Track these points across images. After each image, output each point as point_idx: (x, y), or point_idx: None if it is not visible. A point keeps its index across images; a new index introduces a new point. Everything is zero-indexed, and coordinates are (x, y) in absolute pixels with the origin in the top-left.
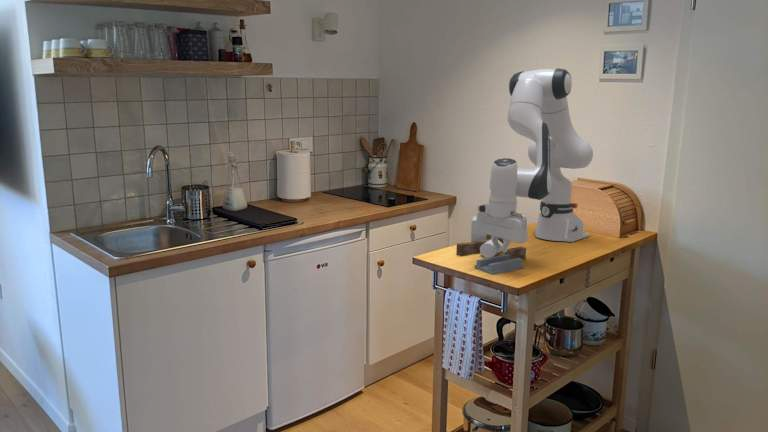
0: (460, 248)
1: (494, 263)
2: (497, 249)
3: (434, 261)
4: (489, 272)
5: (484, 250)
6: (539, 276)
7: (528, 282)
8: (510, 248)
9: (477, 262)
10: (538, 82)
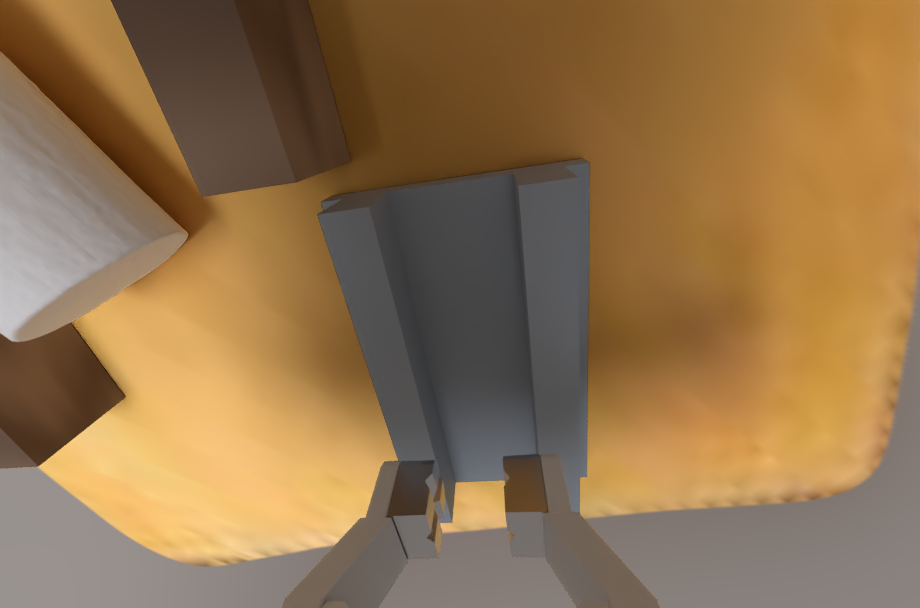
0: (60, 442)
1: None
2: (441, 489)
3: (232, 539)
4: None
5: (94, 300)
6: (872, 199)
7: (873, 381)
8: (149, 68)
9: None
10: None
